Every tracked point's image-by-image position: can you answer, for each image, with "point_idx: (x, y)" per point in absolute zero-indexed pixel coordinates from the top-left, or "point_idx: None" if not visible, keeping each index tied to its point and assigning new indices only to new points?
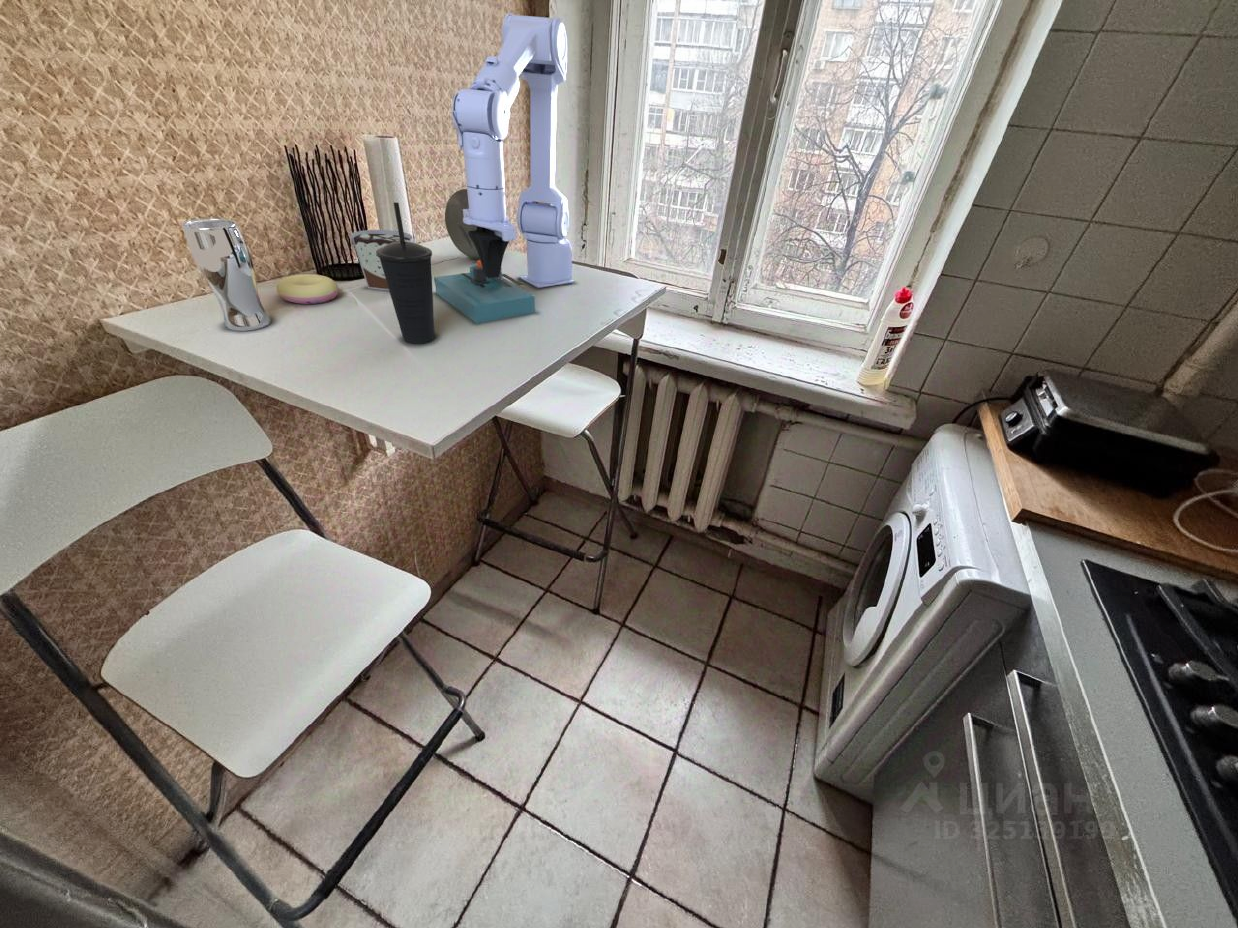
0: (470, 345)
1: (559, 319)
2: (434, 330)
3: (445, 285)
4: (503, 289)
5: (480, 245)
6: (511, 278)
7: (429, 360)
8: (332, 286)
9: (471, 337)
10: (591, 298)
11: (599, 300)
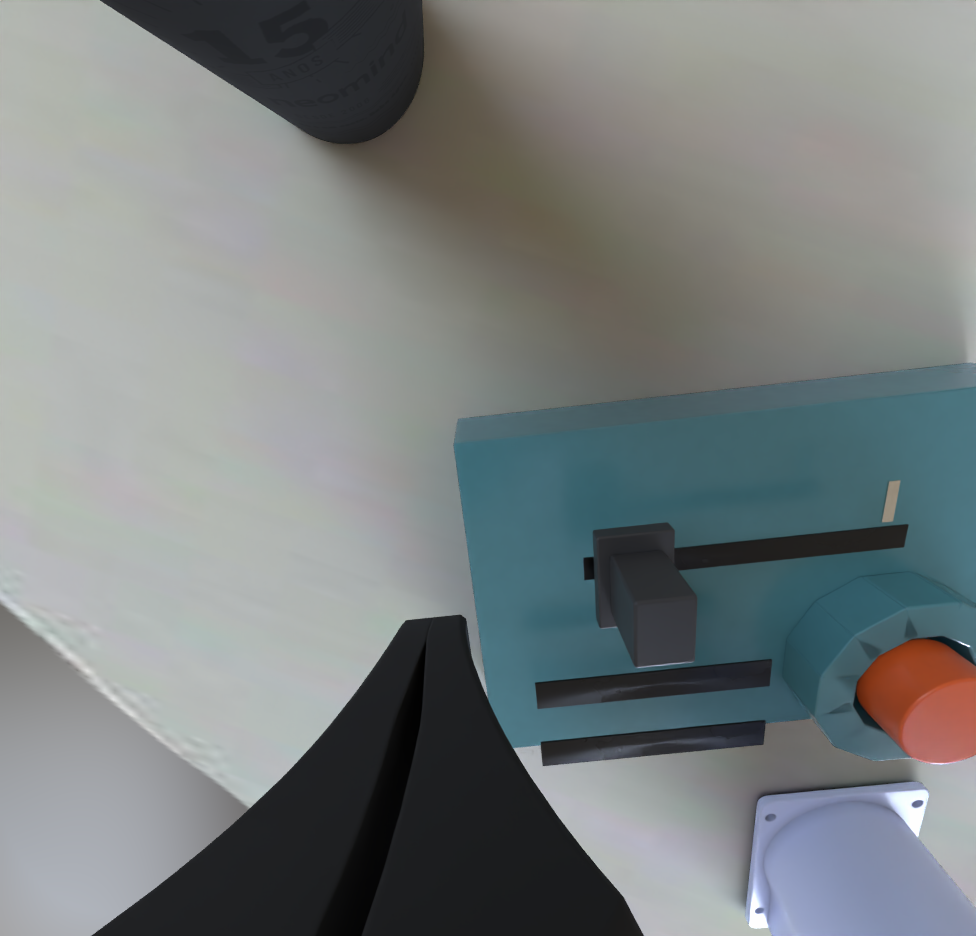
0: (194, 296)
1: None
2: (297, 125)
3: (883, 397)
4: None
5: (280, 859)
6: (667, 748)
7: (31, 9)
8: None
9: (293, 335)
10: None
11: None
